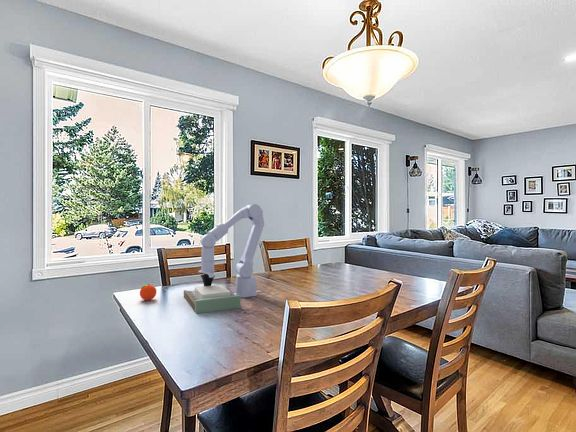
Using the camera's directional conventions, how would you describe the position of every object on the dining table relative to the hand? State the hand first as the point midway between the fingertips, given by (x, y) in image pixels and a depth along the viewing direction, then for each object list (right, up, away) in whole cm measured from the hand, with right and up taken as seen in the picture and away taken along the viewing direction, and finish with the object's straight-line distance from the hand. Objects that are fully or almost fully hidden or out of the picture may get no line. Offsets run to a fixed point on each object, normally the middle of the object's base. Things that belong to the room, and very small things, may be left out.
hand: (207, 290), depth 151 cm
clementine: (-26, -4, -4) cm, 27 cm away
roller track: (+2, -4, -4) cm, 6 cm away
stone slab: (+4, -1, -7) cm, 8 cm away
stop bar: (+8, -5, -16) cm, 19 cm away
